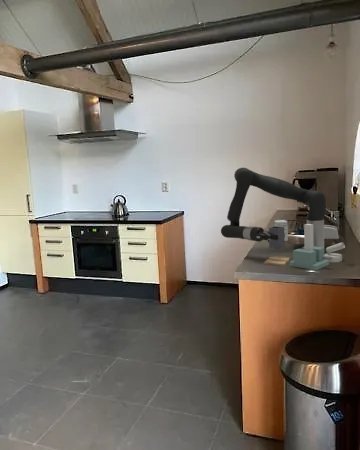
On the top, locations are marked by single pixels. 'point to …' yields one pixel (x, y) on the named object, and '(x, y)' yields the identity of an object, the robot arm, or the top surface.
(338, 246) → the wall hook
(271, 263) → the wooden pad
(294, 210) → the top surface
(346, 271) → the top surface
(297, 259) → the vise
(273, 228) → the steel sleeve
